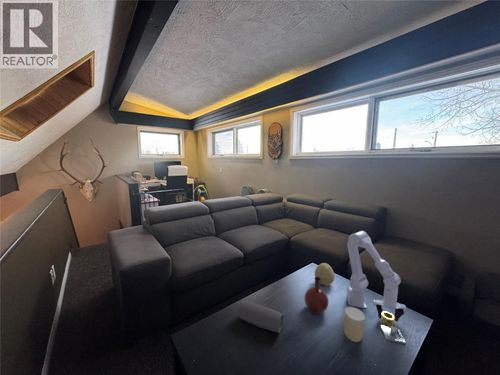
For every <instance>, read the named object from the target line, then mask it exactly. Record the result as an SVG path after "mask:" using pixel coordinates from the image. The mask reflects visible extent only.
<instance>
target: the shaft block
mask: <svg viewBox="0 0 500 375" xmlns="http://www.w3.org/2000/svg"><path fill="white" fill-rule="evenodd" d="M379 327H380V330H381V331H382V334H383V336H384V338H385V341H389V342H393V343H399V344H403V345H406V344H407V341H406V340H405V338H404V336H403V335H402V333H401V331H400V329H399V328H397V327H396V326H395V325H394V324H393V325H390V326H389V325H382V324H381V325H380V326H379Z"/></svg>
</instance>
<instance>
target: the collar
mask: <svg viewBox="0 0 500 375" xmlns="http://www.w3.org/2000/svg"><path fill="white" fill-rule="evenodd" d="M380 320H381V322H382V323H384V324H385V325H386V326H391V325H393V326H394V324H395V318H394V315H393V314H392V313H391V312H389V311H384V310H383V311H382V315H381V319H380Z"/></svg>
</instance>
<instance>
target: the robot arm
mask: <svg viewBox="0 0 500 375" xmlns="http://www.w3.org/2000/svg"><path fill="white" fill-rule="evenodd" d="M358 247H359V248H363V249H365V250H366V251H367V252H368V254H369V255H370V256H371V257H372V259H373V261H374V262H375V264H374V265H375V267H376V268H377V270H378V271H379V273H380V274H381V276H382V278H383V279H382V281H383V284H384V290H383V299H373V300H372V301H373V302H372V303H373V305H374V306H375V307H376V310H377V316H378V318H379V319H380V320H381V315H382V312H383V311H384V309H383V307H385V308H387V309H389V310H391V311H394V315H393V316H394V318H395V320H394V322H396V323H398V322H399V320H400V318H401V317H402V316H403V315H404V314H405V312H406V311H407V307H406V305H405V304H402V303H399V302H397V301H398V294H399V285H400V284H401V282H402V279H401V276H400V275H399V274H397V273H396V272H394V270H393V269H392V268H391V266H390V263H389V262H387V261H386V259H383V258H382V257H381V256H380V254H379V253H378V250H377V249H376V248H375V246H374V244H373V242H372V239H371V237H370V236H369V234H368V233H367V232H366V231H365V230H359V231H358V232H355V233H352V234H350V235H349V236H348V241H347V251H348V256H349V261H350V268H351V273H352V274H351V277H350V283H349V286H347V288H346V289H347V290H346V300H347V303H348V306H349V307H355V308H363V309H367V308H368V307H367V304H366V303H365V302H366V292H367V291H366V288H367V287H368V286H369V281H368V279H367V276H366V274H364V273H363V268H362V264H361V258H360V257H361V256H360V254H359V253H360V252H359V248H358Z"/></svg>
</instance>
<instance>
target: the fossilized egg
mask: <svg viewBox="0 0 500 375" xmlns="http://www.w3.org/2000/svg"><path fill="white" fill-rule="evenodd" d="M314 276H315V277H319V278H320V285H321V286H330V285H332V283H333V282H334V281H335V272H334V270H333V268H332V267H331V266H330V265H329V264H328V263H326V262H322V263H320V264H318V265H317V266H316V268H315V270H314ZM315 277H314V278H315Z"/></svg>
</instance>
